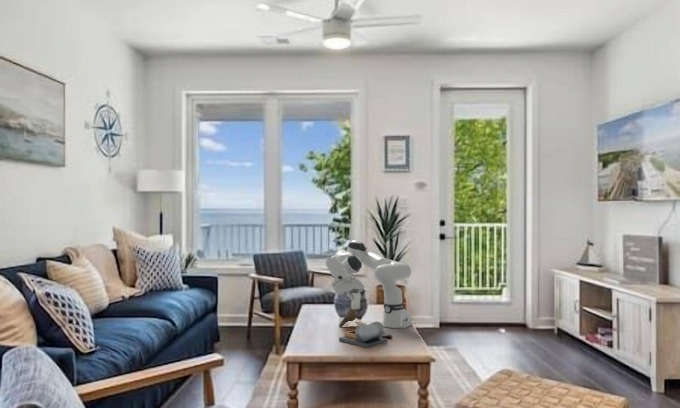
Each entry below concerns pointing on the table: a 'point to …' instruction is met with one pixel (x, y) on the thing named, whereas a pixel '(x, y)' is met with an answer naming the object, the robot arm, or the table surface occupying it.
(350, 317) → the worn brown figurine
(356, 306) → the white capped bottle
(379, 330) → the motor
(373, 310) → the table surface
